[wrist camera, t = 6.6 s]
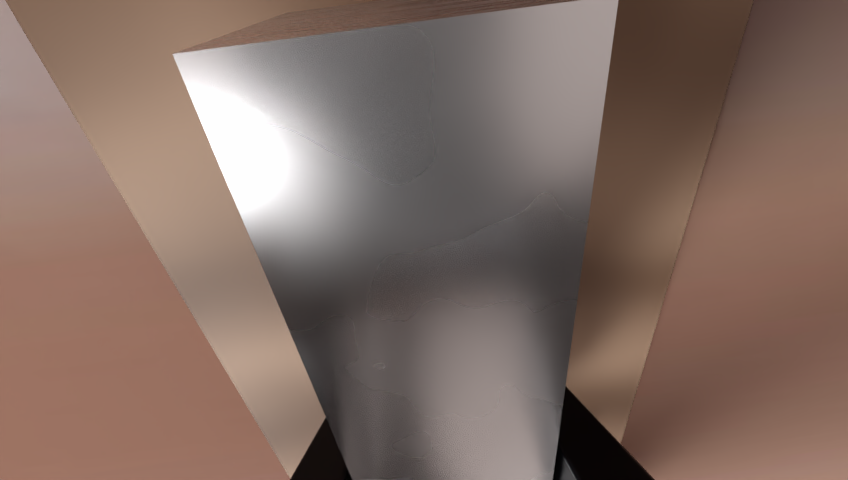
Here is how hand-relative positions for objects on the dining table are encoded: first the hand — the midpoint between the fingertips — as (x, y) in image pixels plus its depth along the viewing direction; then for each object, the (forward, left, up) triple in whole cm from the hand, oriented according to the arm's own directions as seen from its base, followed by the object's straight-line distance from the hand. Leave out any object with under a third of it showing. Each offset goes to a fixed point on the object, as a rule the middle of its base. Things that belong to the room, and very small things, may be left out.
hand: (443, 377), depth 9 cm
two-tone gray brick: (0, 0, -1) cm, 1 cm away
